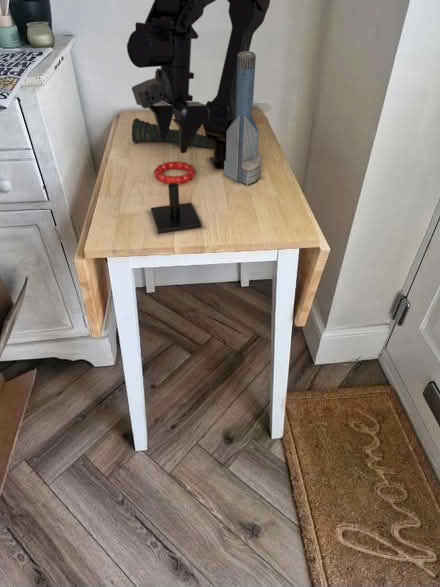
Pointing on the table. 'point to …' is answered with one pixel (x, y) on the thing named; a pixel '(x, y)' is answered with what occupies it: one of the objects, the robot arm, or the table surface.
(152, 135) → the tool
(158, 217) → the peg
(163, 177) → the ring
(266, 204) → the table surface
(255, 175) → the building
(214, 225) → the table surface
